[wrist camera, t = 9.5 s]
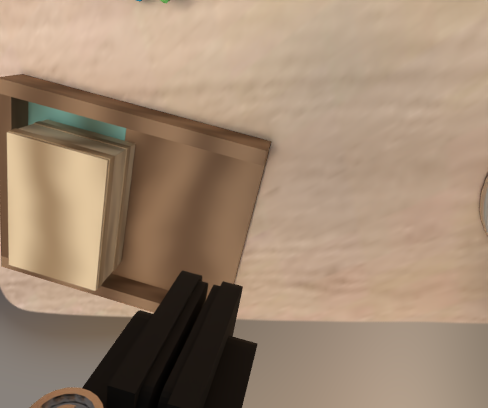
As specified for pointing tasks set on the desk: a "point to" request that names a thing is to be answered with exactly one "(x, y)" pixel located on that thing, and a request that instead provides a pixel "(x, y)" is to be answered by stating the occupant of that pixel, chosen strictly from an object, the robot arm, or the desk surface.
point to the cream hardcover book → (67, 201)
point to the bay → (152, 187)
